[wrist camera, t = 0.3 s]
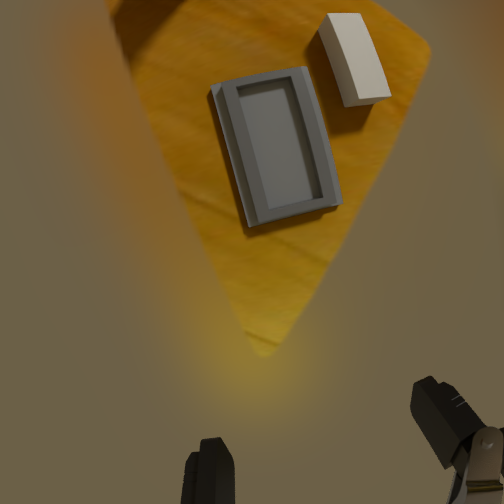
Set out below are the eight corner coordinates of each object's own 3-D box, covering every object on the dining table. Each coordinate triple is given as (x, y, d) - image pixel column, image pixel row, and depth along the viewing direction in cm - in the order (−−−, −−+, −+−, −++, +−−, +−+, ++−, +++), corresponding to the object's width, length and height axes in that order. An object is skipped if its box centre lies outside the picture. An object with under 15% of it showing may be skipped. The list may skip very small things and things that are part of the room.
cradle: (248, 226, 36) (249, 229, 33) (211, 87, 31) (209, 81, 28) (340, 202, 35) (347, 204, 33) (304, 68, 31) (309, 62, 28)
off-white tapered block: (344, 107, 32) (359, 98, 28) (317, 29, 29) (327, 13, 24) (373, 103, 32) (391, 96, 27) (346, 28, 29) (359, 13, 24)
